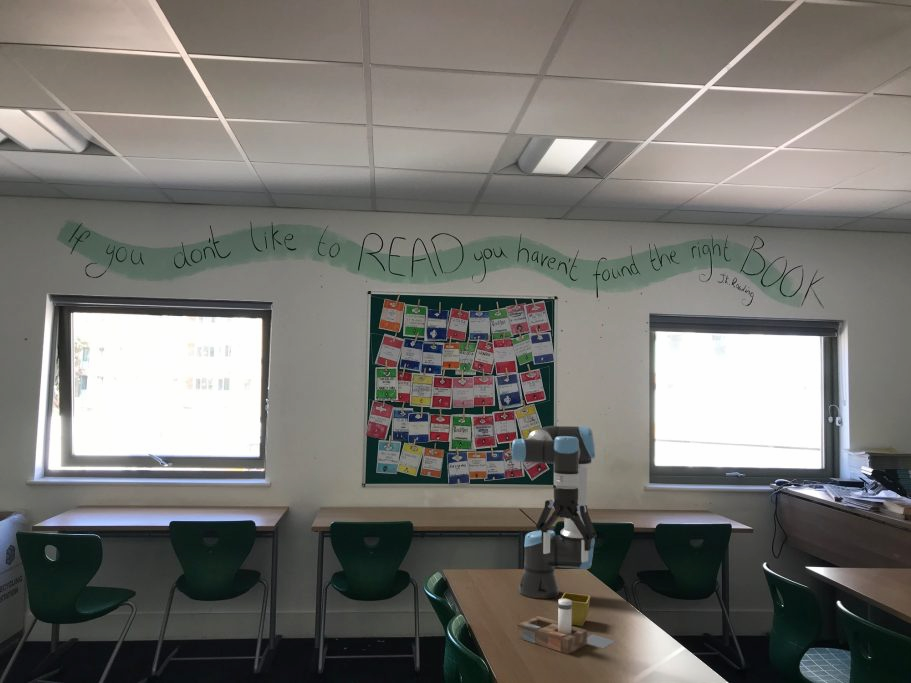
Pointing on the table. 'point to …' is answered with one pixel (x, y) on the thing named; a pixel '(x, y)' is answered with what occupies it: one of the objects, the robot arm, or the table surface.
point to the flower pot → (578, 607)
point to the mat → (598, 641)
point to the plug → (564, 616)
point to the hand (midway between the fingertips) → (565, 557)
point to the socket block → (551, 635)
